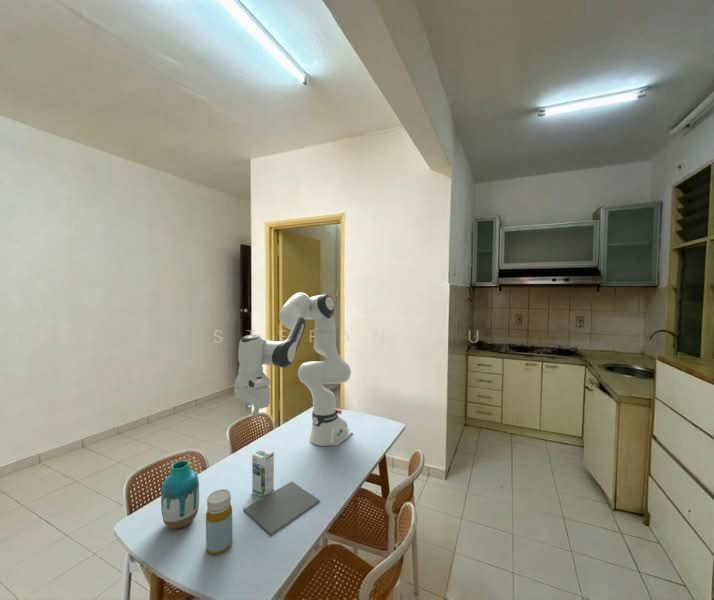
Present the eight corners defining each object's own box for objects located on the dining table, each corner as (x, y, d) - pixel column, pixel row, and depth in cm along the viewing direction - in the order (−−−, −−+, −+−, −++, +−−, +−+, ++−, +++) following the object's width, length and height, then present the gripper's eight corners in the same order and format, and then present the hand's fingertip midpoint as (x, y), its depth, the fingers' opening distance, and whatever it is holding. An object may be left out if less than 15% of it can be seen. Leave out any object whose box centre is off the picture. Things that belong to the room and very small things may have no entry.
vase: (156, 539, 93) (155, 477, 92) (167, 514, 103) (166, 458, 102) (195, 531, 96) (194, 471, 95) (202, 508, 106) (201, 453, 105)
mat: (291, 482, 120) (291, 481, 120) (319, 501, 110) (319, 500, 110) (243, 510, 105) (243, 508, 105) (270, 535, 95) (270, 533, 95)
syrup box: (251, 493, 114) (251, 454, 113) (263, 484, 119) (263, 447, 119) (263, 498, 111) (262, 458, 111) (274, 488, 117) (274, 451, 116)
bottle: (202, 545, 91) (202, 495, 90) (226, 532, 96) (226, 485, 95) (211, 560, 86) (210, 508, 85) (236, 546, 91) (235, 496, 90)
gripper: (229, 374, 123) (230, 408, 124) (257, 385, 110) (258, 423, 111) (244, 371, 128) (244, 404, 129) (273, 381, 115) (273, 418, 115)
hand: (251, 413), depth 119 cm, fingers open, 5 cm apart
